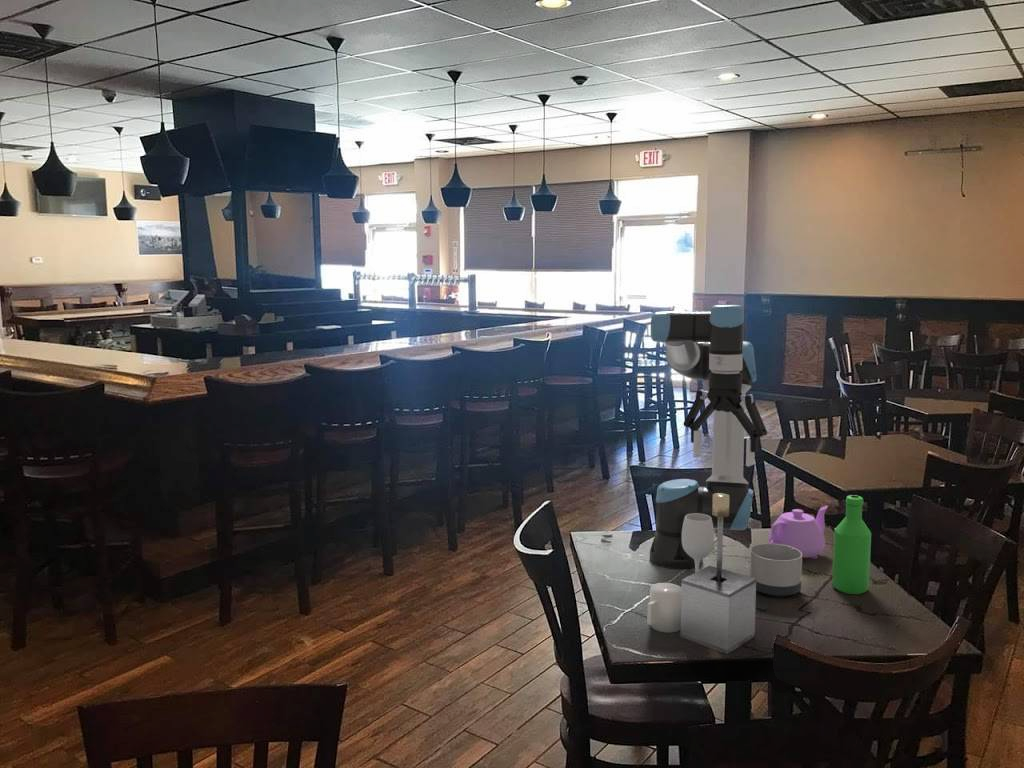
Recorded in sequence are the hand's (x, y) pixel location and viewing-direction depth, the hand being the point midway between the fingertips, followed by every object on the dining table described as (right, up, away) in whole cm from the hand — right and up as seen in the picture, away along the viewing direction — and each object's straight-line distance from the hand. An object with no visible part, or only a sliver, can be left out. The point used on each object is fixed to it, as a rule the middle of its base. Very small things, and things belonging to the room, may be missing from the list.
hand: (723, 460), depth 185 cm
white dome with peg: (-15, -39, 0) cm, 42 cm away
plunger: (-3, -30, -7) cm, 31 cm away
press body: (-3, -40, -5) cm, 40 cm away
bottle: (+39, -36, +20) cm, 57 cm away
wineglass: (-2, -37, +18) cm, 41 cm away
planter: (+19, -36, +20) cm, 46 cm away
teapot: (+35, -32, +46) cm, 66 cm away
